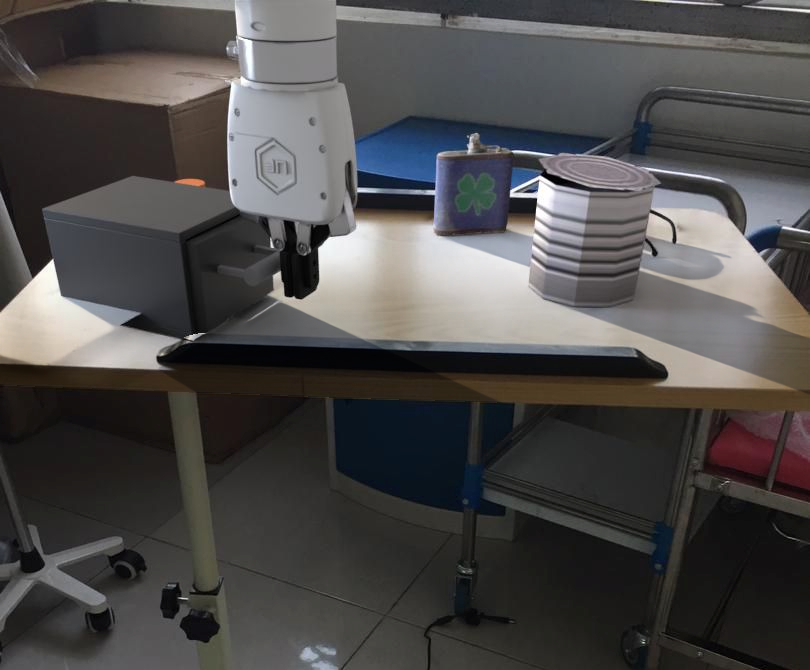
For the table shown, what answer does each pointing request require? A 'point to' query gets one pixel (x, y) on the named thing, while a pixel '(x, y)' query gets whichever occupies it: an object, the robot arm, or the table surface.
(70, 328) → the table surface
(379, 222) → the table surface
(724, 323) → the table surface
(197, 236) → the pull-out drawer box
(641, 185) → the can
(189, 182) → the button
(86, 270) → the grey drawer casing
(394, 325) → the table surface
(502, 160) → the flask
